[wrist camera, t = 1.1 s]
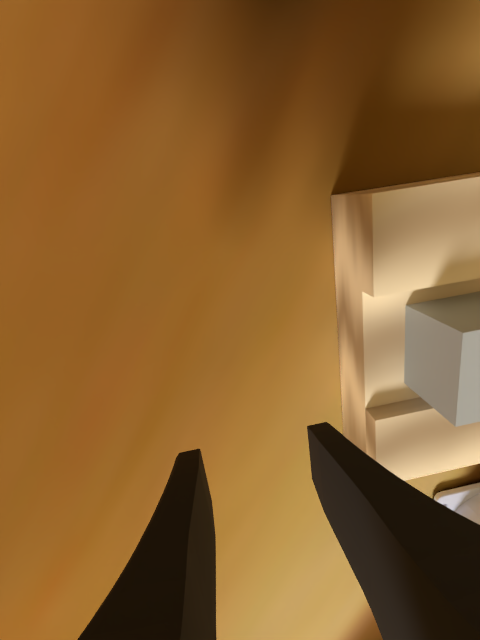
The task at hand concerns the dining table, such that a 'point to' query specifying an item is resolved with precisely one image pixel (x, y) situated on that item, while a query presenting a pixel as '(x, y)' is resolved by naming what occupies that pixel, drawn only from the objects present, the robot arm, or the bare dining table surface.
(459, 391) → the matte grey cube
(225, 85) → the dining table surface
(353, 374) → the grooved board
